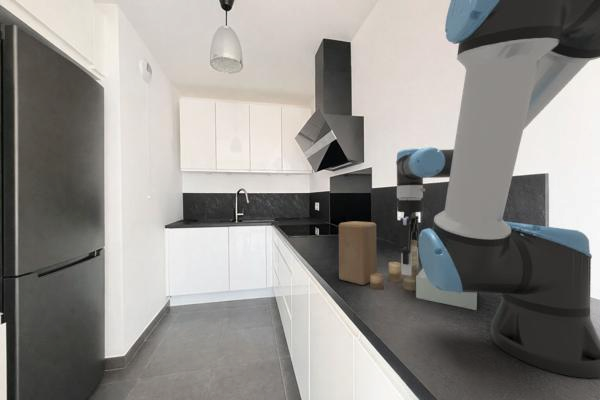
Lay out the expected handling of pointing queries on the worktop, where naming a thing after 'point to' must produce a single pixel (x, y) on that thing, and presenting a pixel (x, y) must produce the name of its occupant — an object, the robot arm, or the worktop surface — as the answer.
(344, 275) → the wooden block
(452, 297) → the socket block
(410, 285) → the dowel long
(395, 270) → the dowel mid
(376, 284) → the dowel short
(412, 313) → the worktop surface
